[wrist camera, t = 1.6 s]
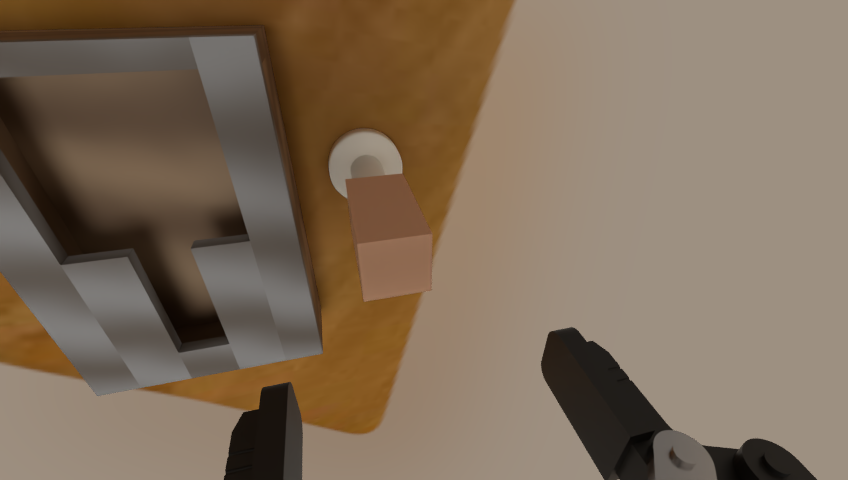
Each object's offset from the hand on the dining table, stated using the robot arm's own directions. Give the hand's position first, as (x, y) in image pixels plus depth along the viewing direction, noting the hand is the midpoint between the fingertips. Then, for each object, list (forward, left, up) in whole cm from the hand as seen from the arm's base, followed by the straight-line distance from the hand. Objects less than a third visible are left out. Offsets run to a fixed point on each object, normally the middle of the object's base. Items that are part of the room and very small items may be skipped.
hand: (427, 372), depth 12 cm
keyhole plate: (+2, -12, -17) cm, 20 cm away
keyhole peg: (0, 0, -17) cm, 17 cm away
